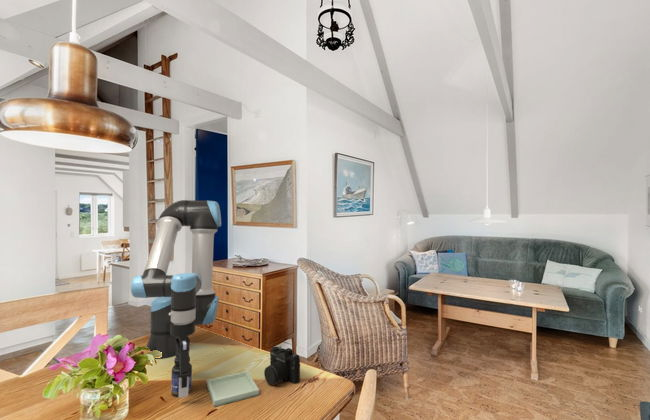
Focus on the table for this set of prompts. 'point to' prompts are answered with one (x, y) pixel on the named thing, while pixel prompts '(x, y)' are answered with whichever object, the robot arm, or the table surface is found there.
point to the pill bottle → (176, 380)
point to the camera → (282, 366)
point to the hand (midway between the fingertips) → (181, 386)
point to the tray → (231, 388)
